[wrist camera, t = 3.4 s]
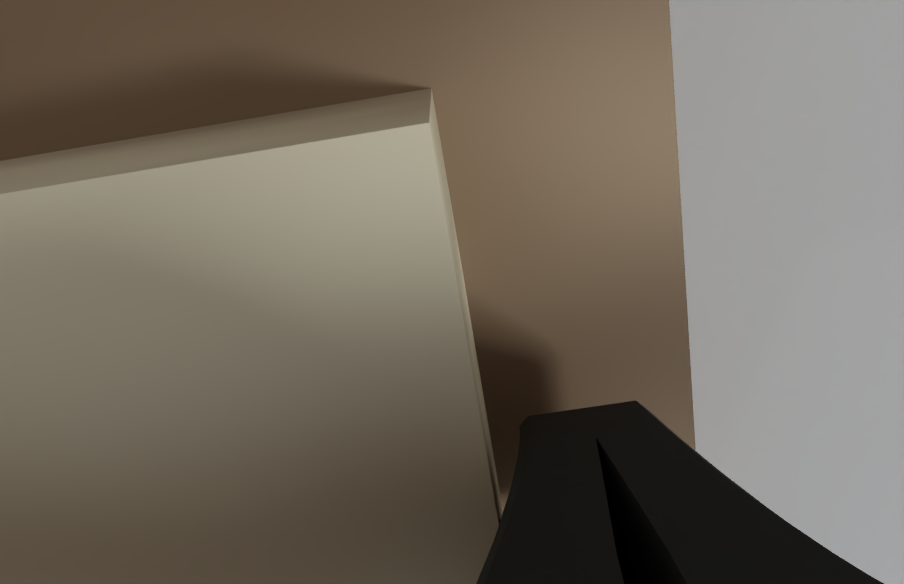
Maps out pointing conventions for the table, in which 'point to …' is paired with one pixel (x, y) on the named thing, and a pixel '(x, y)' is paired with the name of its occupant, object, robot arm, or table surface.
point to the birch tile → (242, 358)
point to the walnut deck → (463, 146)
